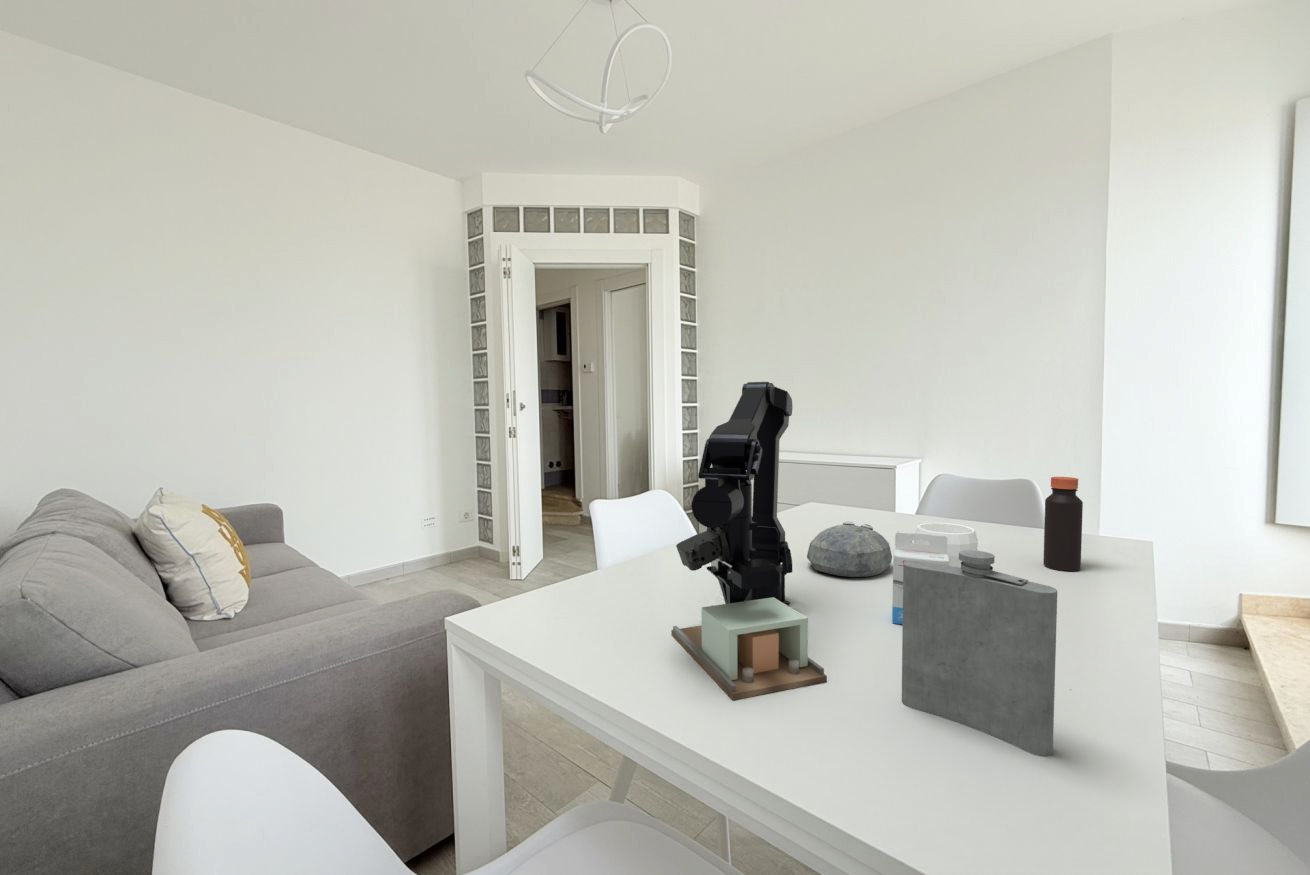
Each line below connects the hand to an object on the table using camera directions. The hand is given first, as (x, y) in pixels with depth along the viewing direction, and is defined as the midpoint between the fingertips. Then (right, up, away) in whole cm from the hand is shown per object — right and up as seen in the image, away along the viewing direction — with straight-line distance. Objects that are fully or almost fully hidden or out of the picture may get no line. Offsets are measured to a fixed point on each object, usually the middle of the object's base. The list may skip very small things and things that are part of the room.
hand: (732, 616), depth 87 cm
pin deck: (+1, -5, -2) cm, 6 cm away
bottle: (+78, -2, +40) cm, 88 cm away
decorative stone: (+32, -3, +42) cm, 53 cm away
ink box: (+33, -4, +10) cm, 35 cm away
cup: (+52, -2, +38) cm, 64 cm away
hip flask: (+25, -6, -20) cm, 33 cm away
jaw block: (+3, -5, -7) cm, 9 cm away
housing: (+2, -5, -6) cm, 8 cm away
